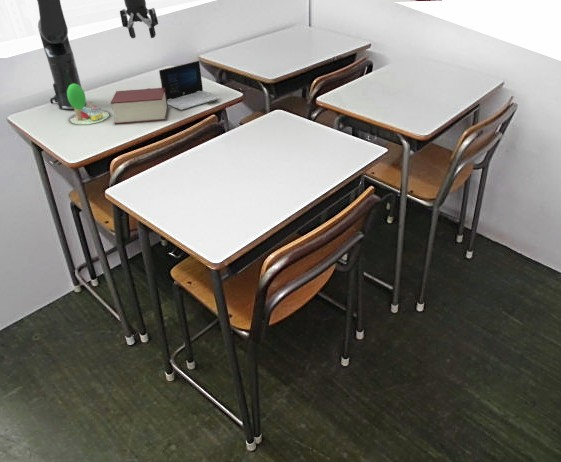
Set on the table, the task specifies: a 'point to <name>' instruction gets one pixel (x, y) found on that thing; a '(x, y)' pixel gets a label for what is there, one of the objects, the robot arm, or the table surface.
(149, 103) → the thick red book
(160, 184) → the table surface
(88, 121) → the train set
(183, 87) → the laptop
